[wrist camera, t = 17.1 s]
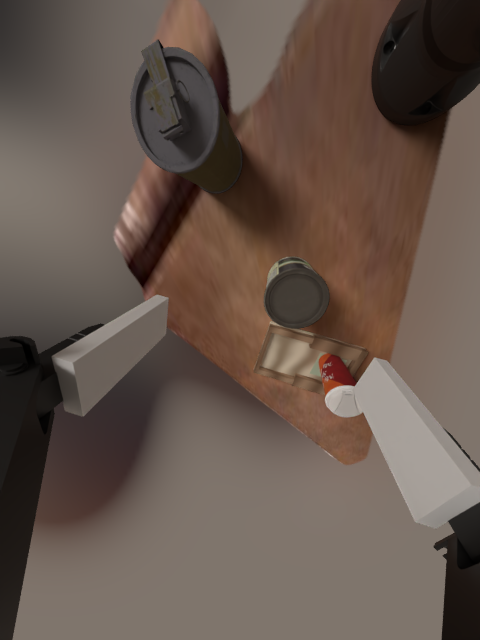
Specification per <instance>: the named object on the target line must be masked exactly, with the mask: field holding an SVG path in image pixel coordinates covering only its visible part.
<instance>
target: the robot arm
mask: <svg viewBox="0 0 480 640" xmlns="http://www.w3.org/2000/svg"><path fill="white" fill-rule="evenodd" d="M479 83H480V0H401V1H400V2H399V4H398V6H397V7H396V9H395V11H394V13H393V14H392V16H391V18H390V20H389V21H388V23H387V25H386V27H385V29H384V31H383V33H382V35H381V38H380V40H379V43H378V46H377V49H376V52H375V56H374V61H373V67H372V90H373V95H374V99H375V102H376V104H377V106H378V108H379V110H380V111H381V112H382V113H383V115H384V116H385V117H387V118H388V119H389V120H391V121H393V122H395V123H398V124H402V125H416V124H421V123H424V122H427V121H430V120H432V119H434V118H436V117H438V116H440V115H441V114H443V113H444V112H446V111H447V110H449V109H450V108H452V107H453V106H455V105H456V104H457V103H459V102H460V101H461V100H463V99H464V98H465V97H466V96H467V95H468V94H469V93H470V92H472V91H473V90H474V89H475V88H476V86H477V85H478V84H479ZM168 300H169V298H167V297H163V296H160V295H156V296H154V297H152V298H151V299H149V300H147V301H145V302H144V303H142V304H140V305H139V306H137V307H135V308H133V309H132V310H130V311H128V312H127V313H125V314H123V315H121V316H120V317H118V318H116V319H115V320H113V321H111V322H110V323H108V324H106V325H104V324H98V325H94V326H91V327H88V328H86V329H84V330H82V331H80V332H78V334H75V335H73V336H71V337H70V338H69V339H66V340H64V341H62V342H60V343H58V344H56V345H54V346H53V347H51V348H49V349H47V350H45V351H43V352H42V353H40V354H38V352H37V348H36V344H35V341H34V340H32V339H31V338H28V337H23V336H10V337H3V338H0V640H12V638H13V633H14V627H15V622H16V617H17V612H18V606H19V601H20V596H21V590H22V585H23V579H24V574H25V569H26V564H27V558H28V553H29V548H30V542H31V537H32V532H33V526H34V521H35V516H36V510H37V505H38V499H39V494H40V489H41V484H42V478H43V473H44V468H45V462H46V457H47V452H48V446H49V441H50V436H51V431H52V425H53V420H54V414H55V413H54V407H56V406H57V405H58V404H59V403H60V402H62V401H63V405H64V409H65V411H67V412H70V413H73V414H76V415H79V416H82V417H83V416H84V415H85V414H86V413H87V412H88V411H89V410H90V409H91V408H92V407H93V406H94V405H95V404H96V403H97V402H98V401H99V400H100V399H101V398H102V397H103V396H104V395H105V394H106V393H107V392H108V391H109V390H110V389H111V388H112V387H113V386H114V385H115V384H116V383H117V382H119V381H120V379H121V378H123V377H124V376H125V375H126V373H128V372H129V371H130V369H132V368H133V367H134V366H135V365H136V363H138V362H139V361H140V360H141V359H142V358H143V357H144V356H145V354H147V353H148V352H149V351H150V350H151V349H152V348H153V347H154V346H155V345H156V344H157V343H158V342H159V341H160V340H161V339H162V338H163V337H164V336H165V335H166V326H167V313H168ZM353 392H354V394H355V396H356V398H357V400H358V402H359V404H360V407H361V409H362V411H363V413H364V415H365V417H366V419H367V421H368V423H369V426H370V428H371V430H372V432H373V434H374V436H375V438H376V440H377V442H378V445H379V446H380V449H381V451H382V453H383V455H384V457H385V459H386V461H387V464H388V465H389V468H390V470H391V472H392V474H393V476H394V478H395V481H396V482H397V485H398V487H399V489H400V491H401V493H402V495H403V497H404V499H405V501H406V504H407V506H408V508H409V510H410V512H411V514H412V516H413V519H414V520H415V522H416V523H419V524H423V525H426V526H429V527H432V528H435V529H436V528H438V527H440V526H441V525H443V524H445V523H447V522H449V523H450V525H451V527H452V529H453V530H454V532H455V533H453V534H451V535H450V536H448V537H446V538H444V539H442V540H440V541H438V542H436V543H435V545H434V548H435V549H436V550H437V551H438V550H440V549H441V548H443V547H445V548H447V553H446V554H444V555H443V557H444V558H445V559H446V560H447V563H446V579H445V595H444V611H443V626H442V640H480V469H479V467H478V466H477V465H476V464H475V462H474V461H473V460H470V457H469V455H468V454H467V453H466V452H465V451H464V450H463V449H461V446H460V445H459V444H458V442H457V441H456V440H455V439H454V438H453V436H452V435H451V434H450V433H449V432H447V431H446V430H445V429H444V428H443V427H442V426H441V425H440V424H439V423H438V422H437V420H436V419H435V418H434V417H433V415H432V414H431V413H430V412H429V411H428V409H427V408H426V407H425V406H424V405H423V404H422V402H421V401H420V400H419V399H418V398H417V396H416V395H415V394H414V393H413V391H412V390H411V389H410V388H409V387H408V385H407V384H406V383H405V382H404V381H403V379H402V378H401V377H400V376H399V375H398V374H397V372H396V371H395V370H394V369H393V367H392V366H391V365H390V364H389V363H388V361H386V360H382V359H379V358H374V359H373V361H372V362H371V363H370V365H369V366H368V368H367V369H366V371H365V372H364V374H363V375H362V377H361V378H360V379H359V381H358V382H357V384H356V385H355V387H354V388H353Z"/></svg>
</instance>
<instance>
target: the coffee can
mask: <svg viewBox="0 0 480 640" xmlns="http://www.w3.org/2000/svg"><path fill="white" fill-rule="evenodd" d="M328 304H329V289H328V287H327V284H326V283H325V281H324V280H323V279H322V277H321V276H319V275H318V274H317V273H316V272H315V271H314V270H313V269H312V267H311V266H310V264H309V263H308V262H307V261H305V260H304V259H302V258H299V257H285V258H283V259H281V260H279V261H277V262H276V263H275V264H274V265H273V266H272V268H271V269H270V271H269V274H268V278H267V287H266V290H265V294H264V307H265V310H266V312H267V314H268V316H269V317H270V318H271V319H272V320H273V321H274V322H275V323H277V324H278V325H280V326H283V327H286V328H291V329H299V328H304V327H307V326H310V325H312V324H313V323H315V322H316V321H318V320H319V319H320V318H321V317H322V316H323V314H324V313H325V311H326V309H327V307H328Z"/></svg>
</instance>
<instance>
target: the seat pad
mask: <svg viewBox="0 0 480 640" xmlns="http://www.w3.org/2000/svg"><path fill="white" fill-rule="evenodd" d="M322 355H324V354H323V353H320V354H319V356H318V358H317V360H316V362H315V364H314V366H313V368H312V370H311V371H310V374H313V375H317V376H320V377H321V373H320V369H319V359H320V357H321V356H322ZM342 361H343V362H344V364H346V362H347V360H344V359H342Z"/></svg>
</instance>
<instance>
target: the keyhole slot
mask: <svg viewBox="0 0 480 640" xmlns="http://www.w3.org/2000/svg"><path fill="white" fill-rule="evenodd" d="M320 353H323V354H327V353H329V354H332V355H336V356H339V357H340V358H341V359H344V360H347V362H346V364H345V365H346V367H347V368H348V370H349V372H350V373H351V375H352V377H353V376H354V374H355V373H356V371H357V369H358V368H359V366H360V365H361V363H362V362H363V360H364V359H365V357H366V356H367V354H368V353H369V352H368V351H367V350H366V348H363V347H360V346H356V345H353V344H349V343H346V342H343V341H339V340H336V339H332V338H329V337H325V336H322V335H318V334H315V333H311V332H308V331H304V330H301V329H291V328H286V327H283V326H280V325H278V324H277V323H275V322H273V321H270V324H269V327H268V330H267V333H266V336H265V338H264V341H263V344H262V347H261V350H260V353H259V356H258V359H257V361H256V364H255V367H254V373H257V374H260V375H264V376H267V377H270V378H274V379H277V380H281V381H284V382H287V383H291V384H292V386H296V387H299V388H302V389H306V390H309V391H312V392H316V393H319V394H323V395H325V392H324V387H323V383H322V378H321V377H320V376H317V375H313V374H310V371H311V370H312V368H313V366H314V364H315V362H316V360H317V358H318V356H319V354H320Z"/></svg>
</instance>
